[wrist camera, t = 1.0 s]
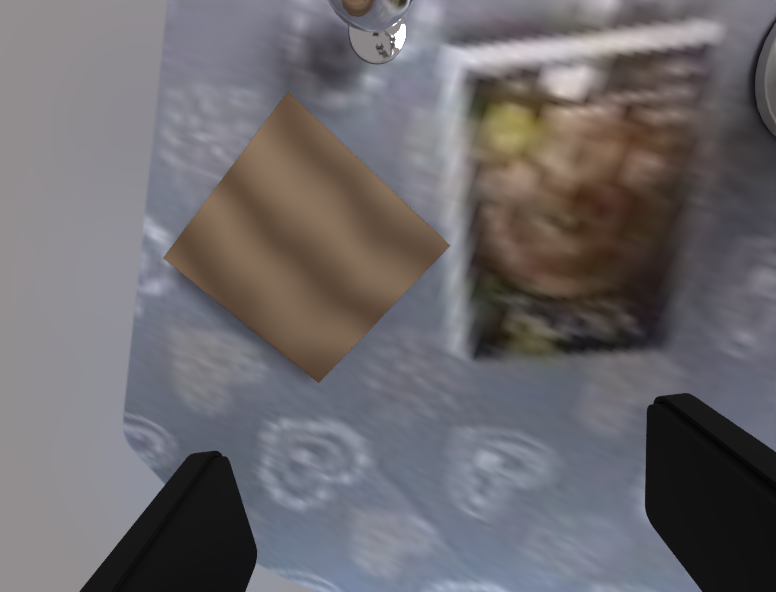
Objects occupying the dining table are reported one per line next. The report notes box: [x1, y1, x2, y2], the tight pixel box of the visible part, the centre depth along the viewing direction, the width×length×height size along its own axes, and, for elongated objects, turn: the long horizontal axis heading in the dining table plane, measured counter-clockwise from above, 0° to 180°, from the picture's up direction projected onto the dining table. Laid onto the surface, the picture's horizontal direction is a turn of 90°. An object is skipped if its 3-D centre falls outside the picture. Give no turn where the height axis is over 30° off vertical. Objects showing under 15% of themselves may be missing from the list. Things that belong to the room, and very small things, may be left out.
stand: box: [164, 92, 450, 383], centre depth 32 cm, size 16×16×4 cm
